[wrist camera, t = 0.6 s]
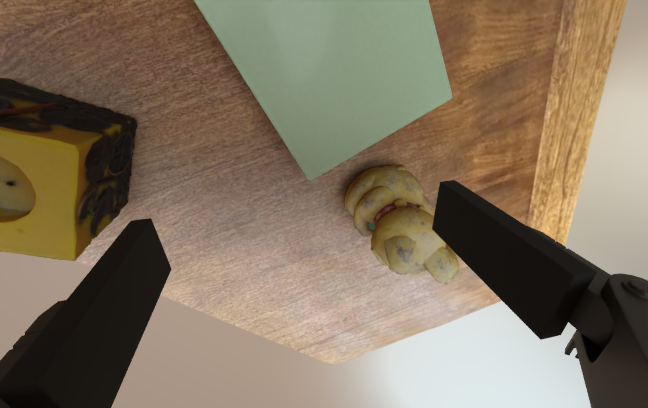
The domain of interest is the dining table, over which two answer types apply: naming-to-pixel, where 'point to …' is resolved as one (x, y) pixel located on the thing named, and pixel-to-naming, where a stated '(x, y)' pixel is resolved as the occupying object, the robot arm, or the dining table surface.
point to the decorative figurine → (399, 223)
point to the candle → (59, 171)
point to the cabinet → (333, 69)
